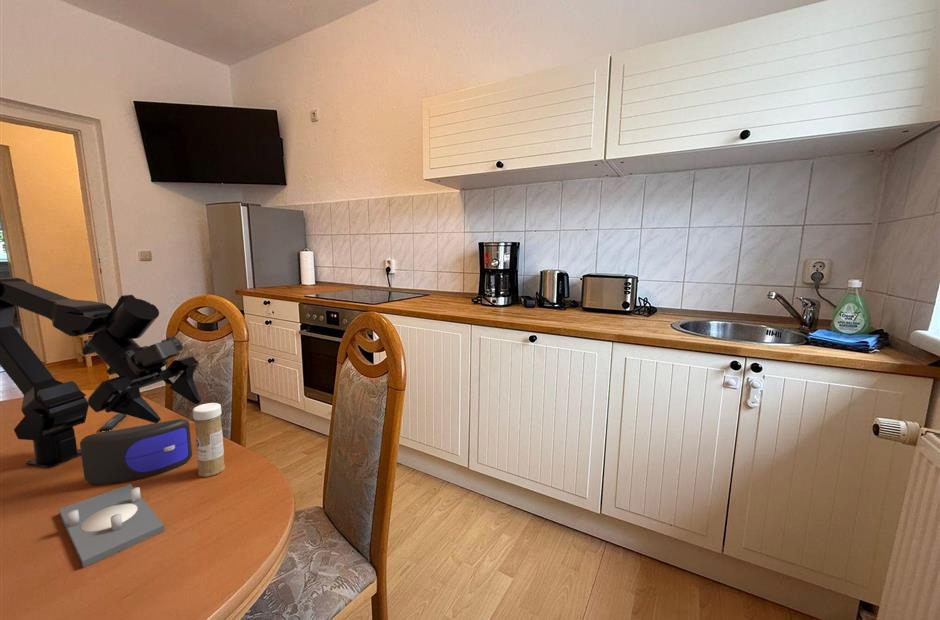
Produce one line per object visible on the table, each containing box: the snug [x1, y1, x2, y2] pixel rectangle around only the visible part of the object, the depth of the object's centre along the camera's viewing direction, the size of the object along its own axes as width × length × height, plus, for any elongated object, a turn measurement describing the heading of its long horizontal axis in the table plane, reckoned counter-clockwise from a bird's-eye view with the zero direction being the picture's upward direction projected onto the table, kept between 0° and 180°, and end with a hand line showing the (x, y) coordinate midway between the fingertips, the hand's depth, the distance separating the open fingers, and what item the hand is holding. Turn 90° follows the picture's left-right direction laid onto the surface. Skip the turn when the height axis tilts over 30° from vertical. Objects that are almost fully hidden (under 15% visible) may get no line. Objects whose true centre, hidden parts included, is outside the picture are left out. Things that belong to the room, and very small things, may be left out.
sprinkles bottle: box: [192, 402, 226, 478], centre depth 75 cm, size 5×5×13 cm
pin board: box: [58, 483, 166, 569], centre depth 61 cm, size 18×9×3 cm, turn 54°
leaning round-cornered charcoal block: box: [79, 418, 193, 485], centre depth 74 cm, size 16×5×9 cm, turn 123°
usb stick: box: [98, 413, 127, 433], centre depth 97 cm, size 10×3×2 cm, turn 24°
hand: (180, 411), depth 75 cm, fingers open, 9 cm apart
